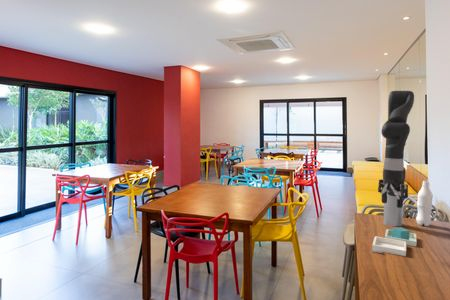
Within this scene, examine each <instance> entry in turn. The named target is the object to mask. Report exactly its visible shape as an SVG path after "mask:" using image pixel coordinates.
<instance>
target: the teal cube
mask: <svg viewBox="0 0 450 300" xmlns="http://www.w3.org/2000/svg"><path fill="white" fill-rule="evenodd" d="M391 230H392V237H394V238H400V239H406V240H409V233H411V232H410V230H409V229H407V228H404V227H402V226H398V227H392V229H391Z"/></svg>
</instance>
